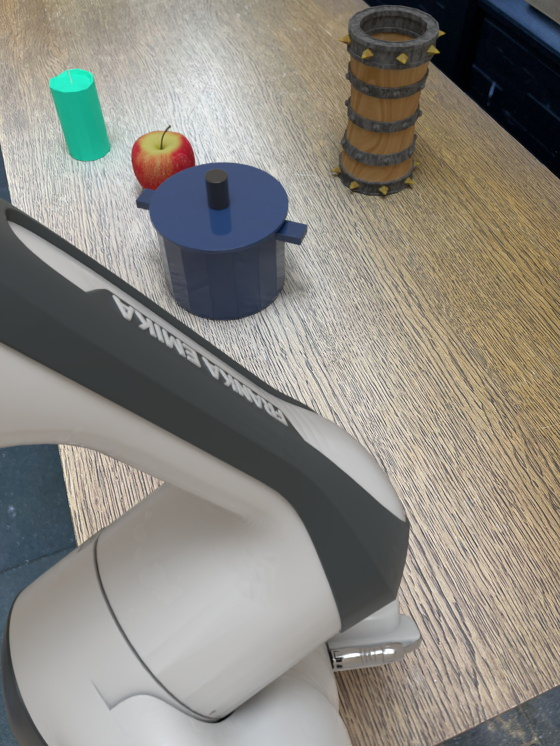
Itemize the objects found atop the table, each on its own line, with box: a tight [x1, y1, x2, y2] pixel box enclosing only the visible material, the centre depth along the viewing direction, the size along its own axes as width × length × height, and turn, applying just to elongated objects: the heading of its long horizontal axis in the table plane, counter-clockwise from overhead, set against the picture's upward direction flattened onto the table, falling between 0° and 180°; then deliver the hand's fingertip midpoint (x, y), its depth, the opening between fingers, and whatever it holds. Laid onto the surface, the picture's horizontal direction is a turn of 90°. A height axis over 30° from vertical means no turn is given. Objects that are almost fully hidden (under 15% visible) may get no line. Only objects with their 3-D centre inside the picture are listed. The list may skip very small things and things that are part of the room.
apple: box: [130, 124, 196, 190], centre depth 85 cm, size 8×8×10 cm
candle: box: [48, 68, 111, 162], centre depth 90 cm, size 6×6×12 cm
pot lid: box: [148, 161, 290, 254], centre depth 69 cm, size 15×15×5 cm
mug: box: [330, 4, 446, 197], centre depth 84 cm, size 13×17×20 cm
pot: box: [135, 188, 309, 321], centre depth 74 cm, size 14×19×10 cm
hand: (251, 573), depth 52 cm, fingers closed, pressing on soda can
